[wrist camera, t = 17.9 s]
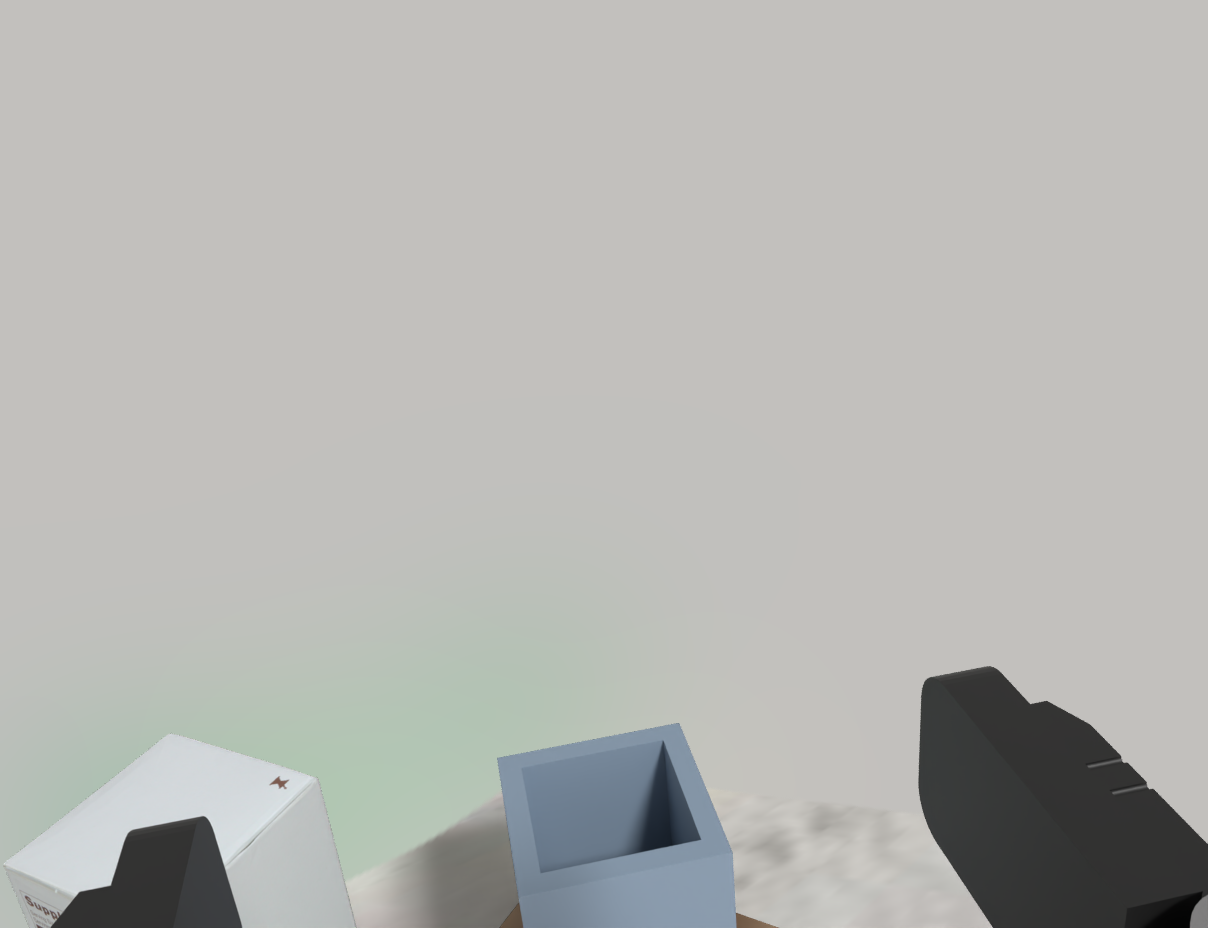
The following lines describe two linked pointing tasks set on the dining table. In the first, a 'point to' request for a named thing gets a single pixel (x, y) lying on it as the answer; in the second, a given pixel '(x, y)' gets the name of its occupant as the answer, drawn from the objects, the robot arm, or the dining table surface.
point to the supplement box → (239, 820)
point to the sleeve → (617, 835)
